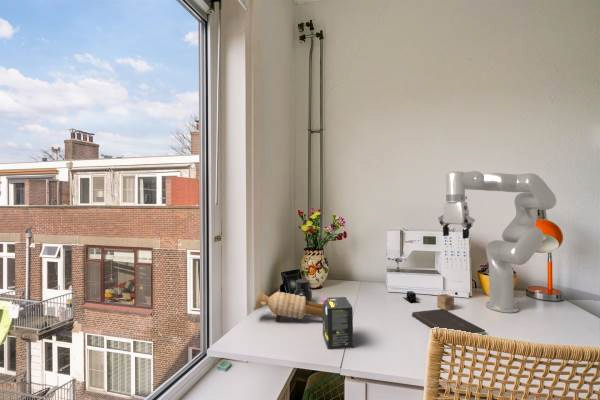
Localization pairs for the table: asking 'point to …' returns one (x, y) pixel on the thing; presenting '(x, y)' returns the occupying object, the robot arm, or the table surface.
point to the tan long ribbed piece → (289, 305)
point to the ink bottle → (303, 289)
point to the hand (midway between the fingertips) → (455, 236)
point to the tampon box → (337, 323)
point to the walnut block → (445, 302)
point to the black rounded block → (411, 297)
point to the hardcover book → (446, 321)
